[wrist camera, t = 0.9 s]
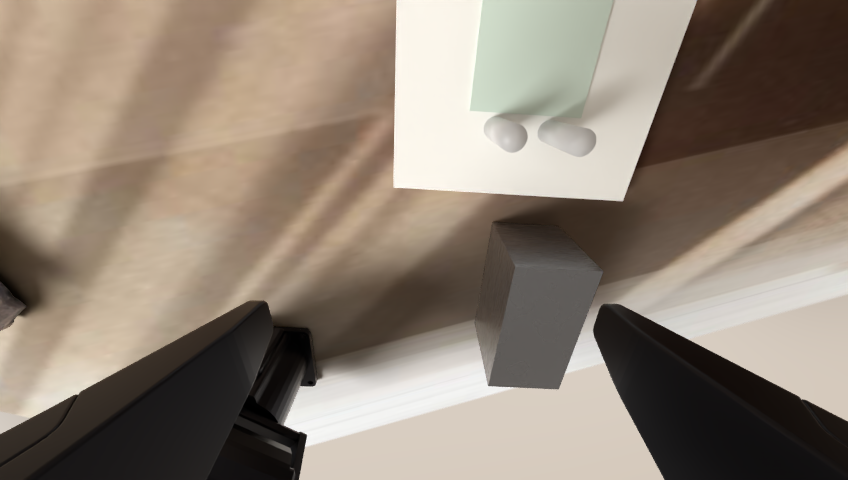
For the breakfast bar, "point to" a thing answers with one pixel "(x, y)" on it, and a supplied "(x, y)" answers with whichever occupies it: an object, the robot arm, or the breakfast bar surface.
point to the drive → (532, 304)
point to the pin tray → (530, 93)
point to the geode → (8, 307)
